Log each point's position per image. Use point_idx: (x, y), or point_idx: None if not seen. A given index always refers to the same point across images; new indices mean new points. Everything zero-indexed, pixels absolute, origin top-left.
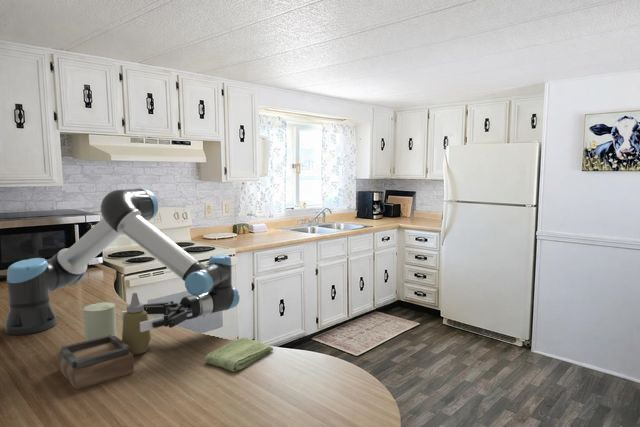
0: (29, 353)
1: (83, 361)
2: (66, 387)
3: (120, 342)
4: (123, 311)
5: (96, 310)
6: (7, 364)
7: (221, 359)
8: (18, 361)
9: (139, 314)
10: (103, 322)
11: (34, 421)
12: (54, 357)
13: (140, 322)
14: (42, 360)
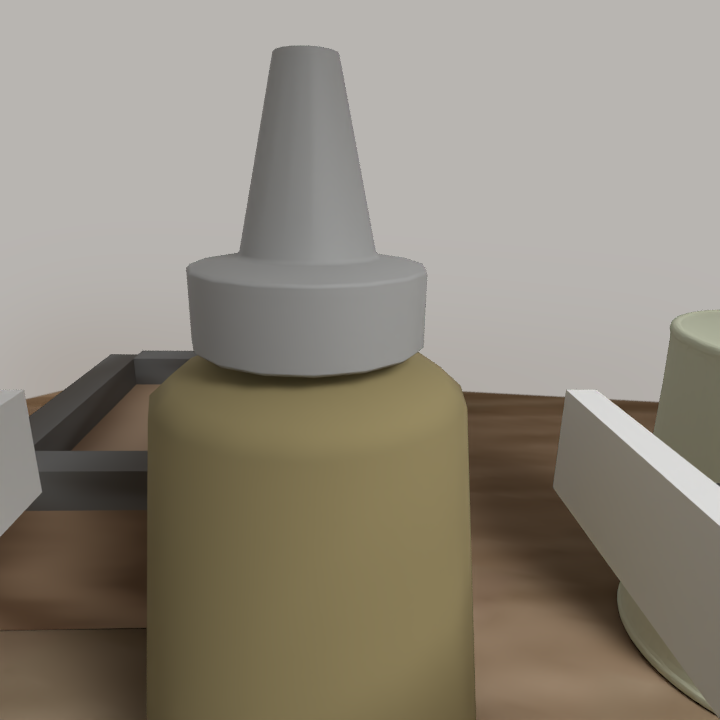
0: None
1: (101, 363)
2: None
3: (144, 460)
4: (592, 396)
5: (694, 326)
6: (544, 397)
7: None
8: (558, 410)
9: (175, 371)
10: None
11: (55, 392)
12: (539, 462)
13: (10, 392)
14: (526, 440)
